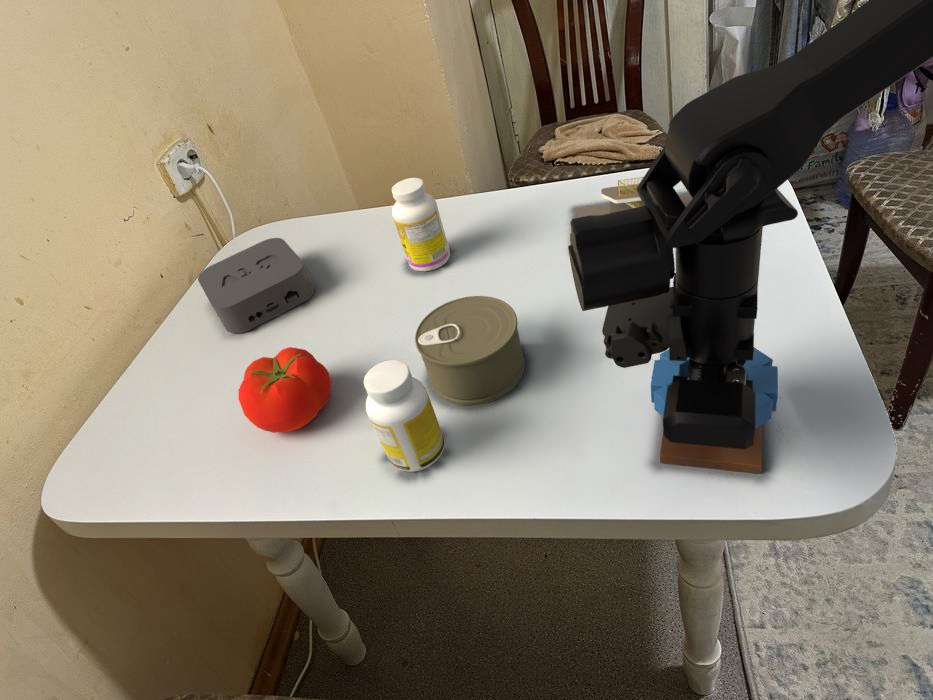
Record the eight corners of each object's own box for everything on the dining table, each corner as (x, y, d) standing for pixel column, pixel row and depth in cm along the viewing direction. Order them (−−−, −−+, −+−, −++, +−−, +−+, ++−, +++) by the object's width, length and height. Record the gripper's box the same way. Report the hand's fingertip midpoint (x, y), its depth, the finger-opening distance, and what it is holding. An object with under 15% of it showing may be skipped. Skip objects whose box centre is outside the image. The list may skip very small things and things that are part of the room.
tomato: (247, 451, 78) (218, 408, 73) (266, 387, 86) (242, 344, 82) (332, 436, 77) (309, 391, 72) (344, 373, 85) (323, 329, 80)
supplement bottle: (412, 251, 104) (389, 177, 96) (453, 245, 103) (433, 170, 95) (405, 276, 99) (380, 200, 91) (448, 270, 98) (426, 193, 90)
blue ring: (774, 357, 64) (776, 339, 62) (776, 443, 57) (778, 425, 55) (659, 352, 68) (658, 334, 66) (646, 431, 61) (645, 414, 59)
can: (536, 391, 75) (527, 346, 71) (434, 417, 76) (419, 374, 71) (515, 328, 84) (506, 285, 80) (425, 352, 85) (411, 310, 80)
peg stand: (760, 403, 67) (767, 343, 62) (760, 474, 61) (767, 414, 56) (668, 396, 70) (667, 339, 65) (660, 463, 64) (657, 405, 59)
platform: (709, 236, 90) (710, 193, 86) (576, 250, 94) (571, 210, 90) (697, 192, 99) (698, 152, 95) (576, 208, 103) (572, 169, 99)
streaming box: (290, 259, 111) (278, 233, 107) (320, 295, 100) (308, 267, 97) (209, 299, 107) (194, 273, 103) (232, 340, 96) (216, 313, 93)
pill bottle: (453, 431, 73) (427, 354, 66) (435, 477, 69) (405, 401, 62) (400, 426, 76) (369, 352, 68) (380, 471, 71) (344, 397, 64)
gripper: (623, 211, 58) (632, 344, 68) (584, 356, 45) (603, 492, 55) (762, 207, 54) (750, 349, 64) (761, 365, 41) (747, 511, 51)
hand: (711, 418), depth 59 cm, fingers closed on blue ring, 2 cm apart
